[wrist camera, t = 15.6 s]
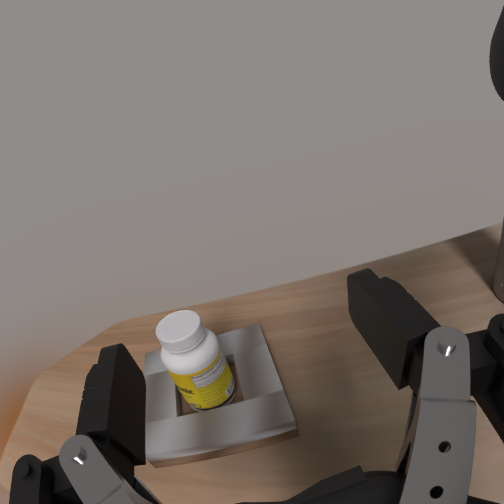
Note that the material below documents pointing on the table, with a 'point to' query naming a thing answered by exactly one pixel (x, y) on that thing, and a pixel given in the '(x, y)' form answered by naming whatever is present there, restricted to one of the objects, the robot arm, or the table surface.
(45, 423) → the table surface
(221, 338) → the mount block
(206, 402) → the supplement bottle
